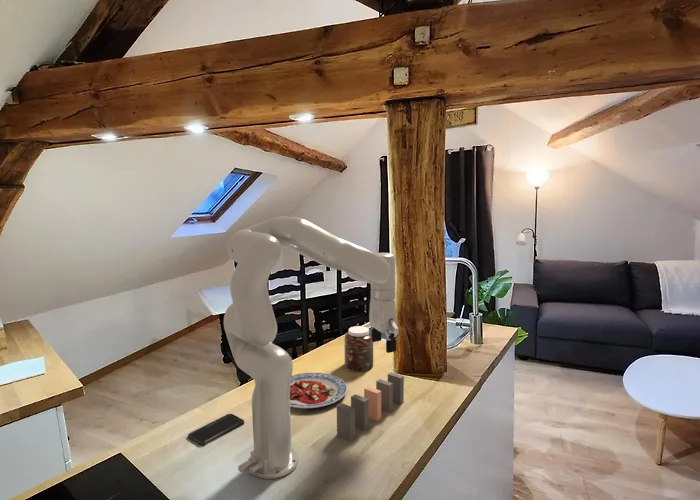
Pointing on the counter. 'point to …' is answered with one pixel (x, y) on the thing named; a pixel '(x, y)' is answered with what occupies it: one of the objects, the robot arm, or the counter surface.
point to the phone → (215, 429)
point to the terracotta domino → (373, 402)
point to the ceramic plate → (315, 390)
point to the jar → (358, 349)
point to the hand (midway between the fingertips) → (383, 346)
